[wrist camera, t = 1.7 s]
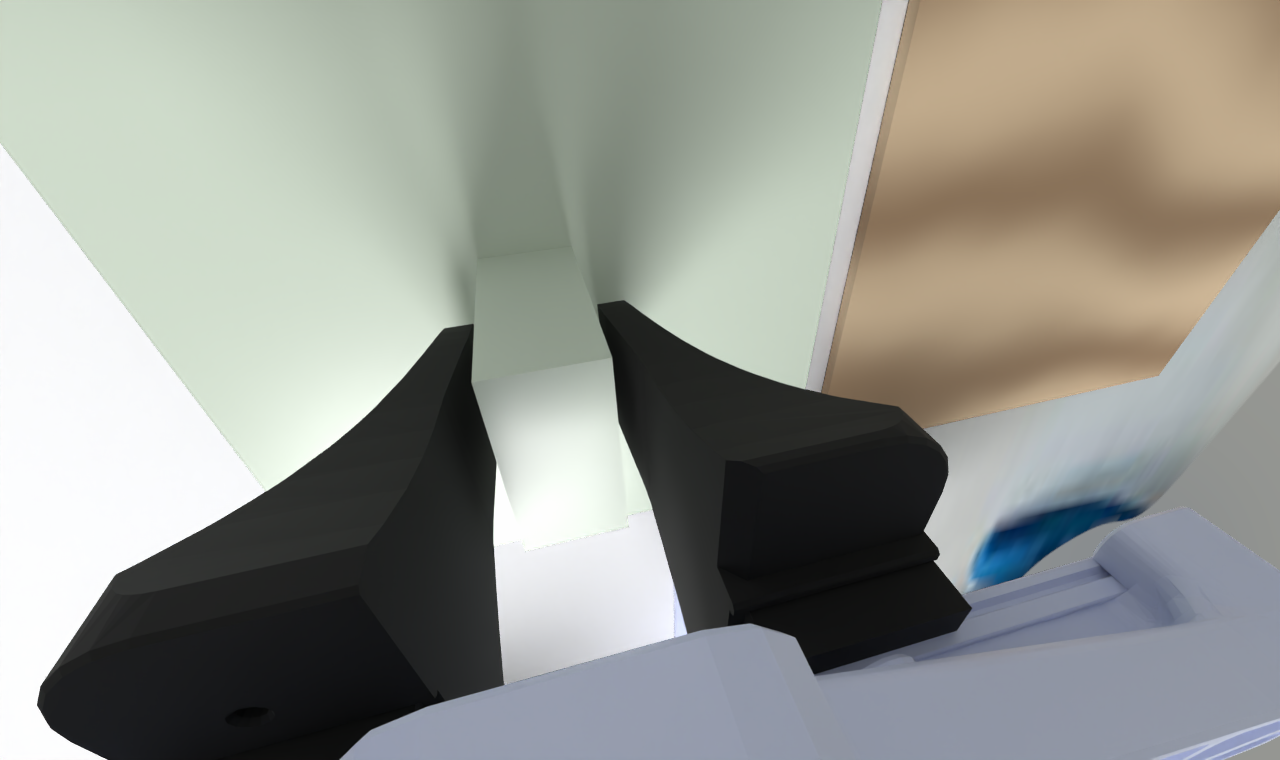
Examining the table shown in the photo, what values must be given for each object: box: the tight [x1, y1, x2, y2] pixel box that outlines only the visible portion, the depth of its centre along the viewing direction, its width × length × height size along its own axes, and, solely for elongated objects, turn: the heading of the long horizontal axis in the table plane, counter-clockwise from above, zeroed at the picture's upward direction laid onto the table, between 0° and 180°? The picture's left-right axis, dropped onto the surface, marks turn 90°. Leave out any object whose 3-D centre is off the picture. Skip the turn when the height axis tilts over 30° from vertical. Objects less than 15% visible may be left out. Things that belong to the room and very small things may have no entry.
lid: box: [0, 0, 882, 552], centre depth 10 cm, size 15×15×5 cm
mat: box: [821, 0, 1280, 429], centre depth 17 cm, size 18×18×1 cm
